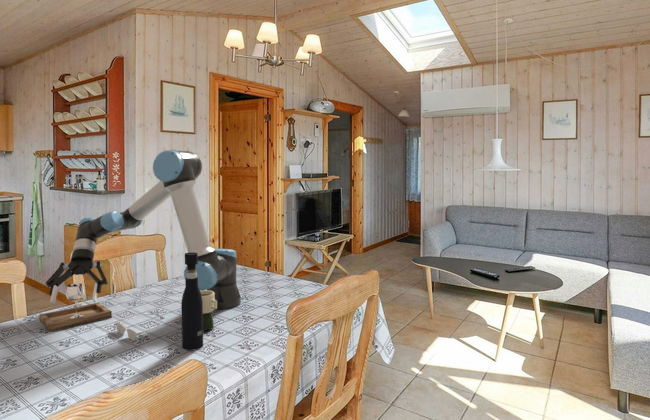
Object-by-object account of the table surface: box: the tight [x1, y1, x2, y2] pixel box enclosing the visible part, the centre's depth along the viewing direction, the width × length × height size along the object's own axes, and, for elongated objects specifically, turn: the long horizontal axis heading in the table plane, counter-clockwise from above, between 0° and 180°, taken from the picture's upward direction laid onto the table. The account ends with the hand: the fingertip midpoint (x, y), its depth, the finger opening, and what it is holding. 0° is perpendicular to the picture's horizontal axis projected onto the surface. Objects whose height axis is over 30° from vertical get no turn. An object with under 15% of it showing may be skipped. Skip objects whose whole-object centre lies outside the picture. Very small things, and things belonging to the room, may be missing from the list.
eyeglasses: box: [115, 313, 182, 342], centre depth 148 cm, size 15×18×4 cm
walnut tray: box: [39, 302, 113, 333], centre depth 156 cm, size 14×20×2 cm
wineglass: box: [65, 282, 85, 319], centre depth 156 cm, size 6×6×12 cm
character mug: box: [200, 290, 218, 332], centre depth 148 cm, size 11×7×13 cm, turn 66°
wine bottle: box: [180, 252, 204, 351], centre depth 133 cm, size 6×6×30 cm
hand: (73, 302), depth 153 cm, fingers open, 13 cm apart
